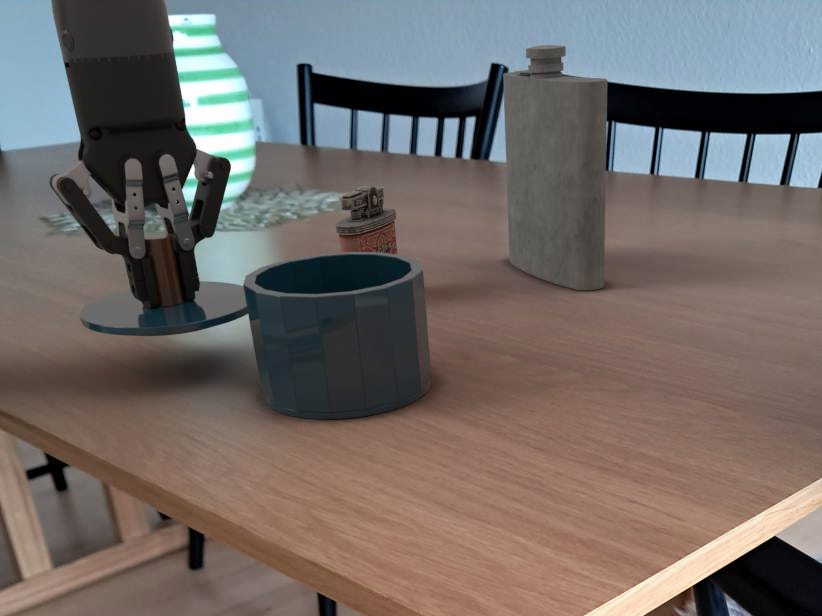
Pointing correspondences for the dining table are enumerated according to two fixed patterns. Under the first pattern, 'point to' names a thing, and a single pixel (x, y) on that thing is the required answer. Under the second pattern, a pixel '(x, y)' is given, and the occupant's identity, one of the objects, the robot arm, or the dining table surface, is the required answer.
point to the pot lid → (165, 301)
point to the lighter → (367, 222)
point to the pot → (340, 333)
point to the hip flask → (556, 171)
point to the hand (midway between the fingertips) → (168, 301)
